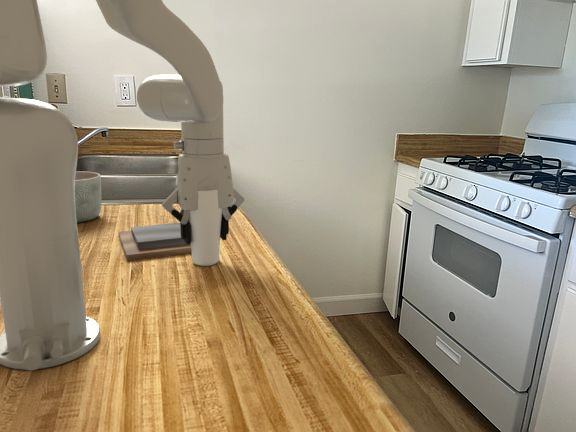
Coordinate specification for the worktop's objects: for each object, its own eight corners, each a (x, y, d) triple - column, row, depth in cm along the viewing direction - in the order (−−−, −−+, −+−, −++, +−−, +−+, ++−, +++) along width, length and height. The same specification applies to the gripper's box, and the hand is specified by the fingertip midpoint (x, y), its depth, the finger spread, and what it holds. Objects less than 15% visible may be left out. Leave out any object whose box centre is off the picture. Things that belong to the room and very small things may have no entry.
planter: (45, 216, 122) (40, 174, 119) (95, 209, 129) (92, 169, 126) (57, 228, 112) (52, 182, 109) (110, 220, 120) (107, 177, 117)
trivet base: (207, 251, 100) (207, 238, 99) (127, 260, 93) (126, 247, 93) (189, 229, 114) (189, 218, 113) (118, 236, 107) (117, 225, 107)
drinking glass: (180, 264, 92) (177, 187, 88) (202, 253, 98) (200, 181, 94) (209, 270, 89) (207, 192, 85) (229, 259, 95) (229, 186, 91)
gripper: (158, 151, 81) (163, 251, 86) (254, 148, 88) (254, 241, 93) (151, 146, 88) (156, 239, 92) (241, 143, 94) (241, 230, 99)
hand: (205, 239), depth 92 cm, fingers closed on drinking glass, 6 cm apart
